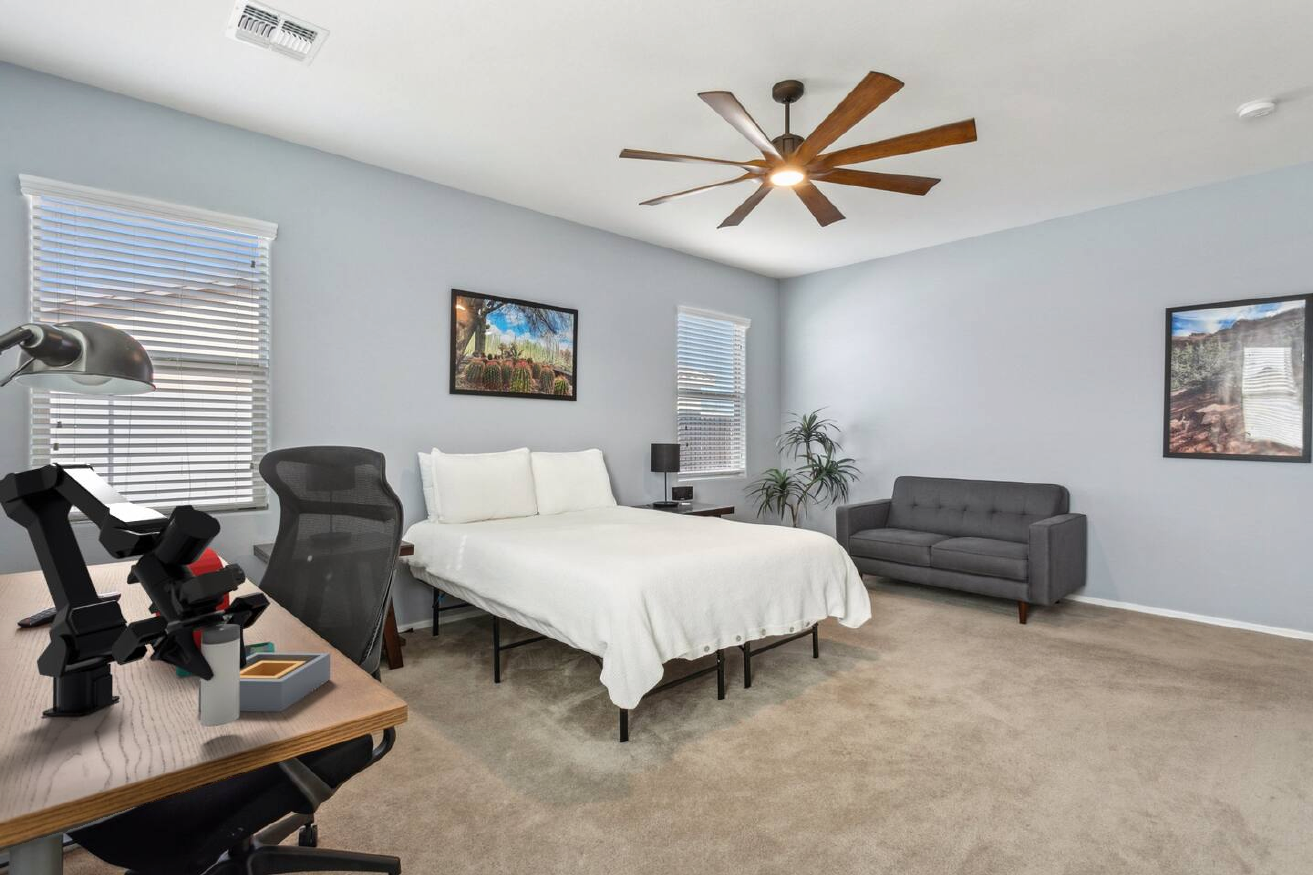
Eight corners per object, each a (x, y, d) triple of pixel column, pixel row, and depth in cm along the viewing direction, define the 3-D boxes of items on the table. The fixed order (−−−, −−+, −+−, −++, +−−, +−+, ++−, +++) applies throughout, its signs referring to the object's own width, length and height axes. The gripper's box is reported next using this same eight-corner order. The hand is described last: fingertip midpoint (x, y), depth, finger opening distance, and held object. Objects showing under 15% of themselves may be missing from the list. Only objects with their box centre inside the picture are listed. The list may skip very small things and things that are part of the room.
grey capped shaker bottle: (192, 726, 86) (193, 633, 86) (216, 712, 90) (217, 624, 90) (224, 726, 86) (224, 633, 86) (246, 712, 90) (247, 624, 90)
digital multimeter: (179, 668, 116) (179, 651, 116) (274, 654, 124) (274, 639, 124) (173, 681, 110) (173, 664, 110) (274, 665, 117) (274, 649, 117)
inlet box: (198, 710, 97) (198, 680, 97) (256, 678, 110) (256, 652, 110) (281, 711, 96) (281, 681, 96) (330, 679, 109) (330, 653, 109)
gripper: (127, 560, 81) (188, 656, 77) (261, 539, 98) (316, 617, 95) (86, 616, 83) (143, 713, 80) (224, 586, 101) (276, 664, 97)
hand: (227, 672), depth 88 cm, fingers closed on grey capped shaker bottle, 4 cm apart
